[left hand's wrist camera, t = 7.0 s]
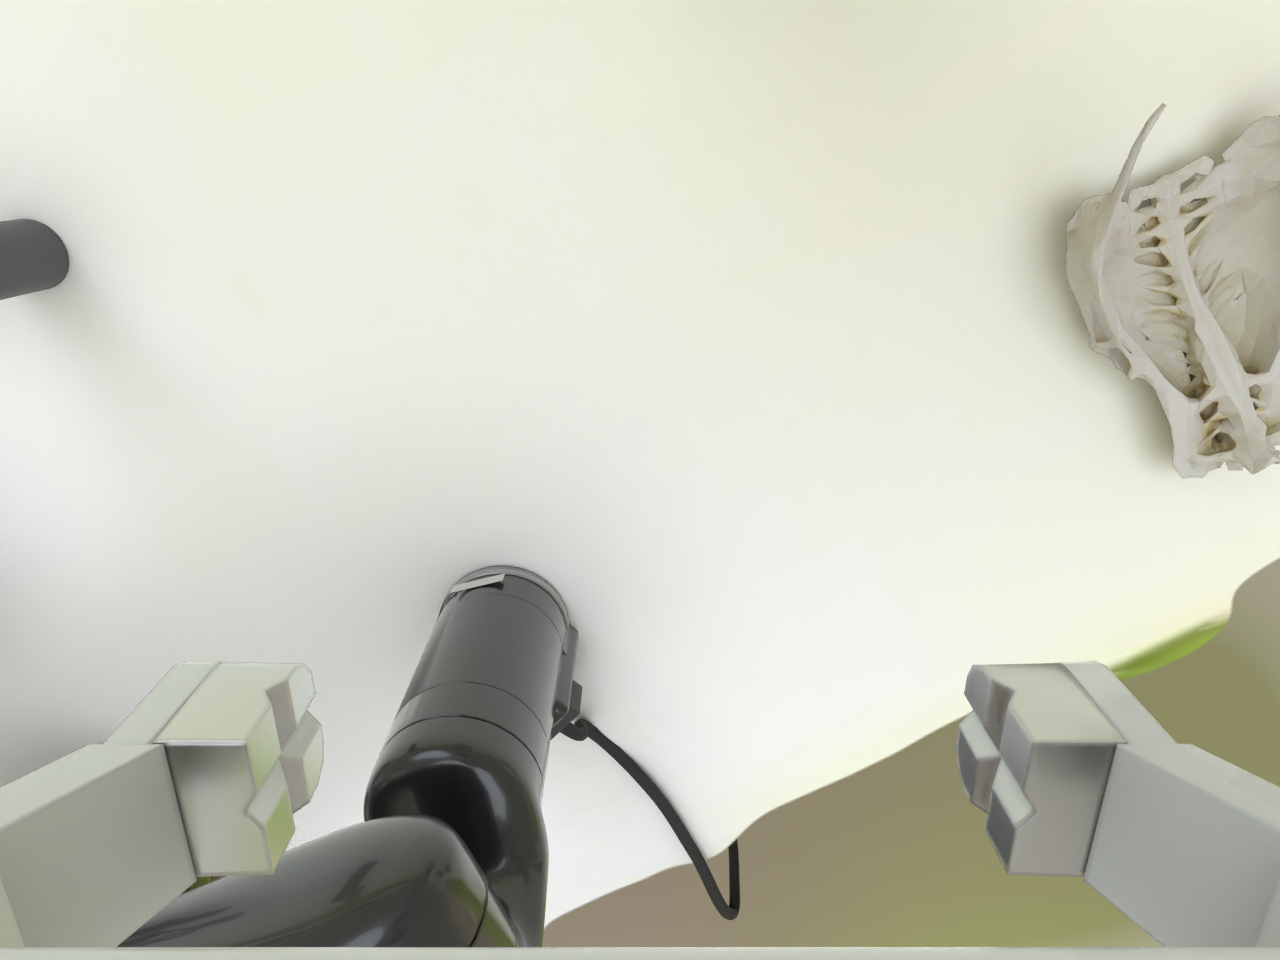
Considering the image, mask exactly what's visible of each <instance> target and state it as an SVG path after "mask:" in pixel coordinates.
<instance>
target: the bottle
mask: <svg viewBox="0 0 1280 960" xmlns="http://www.w3.org/2000/svg"><path fill="white" fill-rule="evenodd" d="M68 265H69V262H68V254H67V251H66V248H65V246H64V244H63V242H62V241H61V239H60V238H59V237H58V236H57V234H56V233H55V232H54V231H53V230H51V229H50V228H49V227H47V226H46V225H44V224H42V223H40V222H37V221H34V220H29V219H19V220H11V221H2V222H0V300H2V299H6V298H11V297H15V296H19V295H23V294H28V293H32V292H36V291H40V290H45V289H49V288H52V287H54V286H56V285H58V284H59V283H60V282H61V281H62V280H63V279H64V277H65V276H66V273H67V270H68Z"/></svg>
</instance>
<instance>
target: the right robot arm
mask: <svg viewBox="0 0 1280 960" xmlns="http://www.w3.org/2000/svg"><path fill="white" fill-rule="evenodd" d="M577 641H578V632H577V631H576V630H575V629H573V628H572V627H571V626H570V624H569V618H568V613H567V610H566V607H565V604H564V602H563V600H562V599H561V597H560V595H559V594H558V593H557V591H556V590H555V589H554V588H553V587H552V586H551V585H550V584H549V583H548V582H546V581H545V580H544V579H542V578H541V577H539V576H537V575H535V574H533V573H531V572H529V571H526V570H523V569H519V568H515V567H507V566H496V567H488V568H484V569H480V570H477V571H474V572H472V573H470V574H468V575H467V576H465V577H463V578H462V579H461V580H459V581H458V582H457V583H456V584H455V585H454V586H453V587H452V589H451V590H450V591H449V593H448V594H447V596H446V598H445V600H444V603H443V605H442V608H441V610H440V614H439V616H438V619H437V623H436V625H435V627H434V629H433V631H432V634H431V636H430V638H429V641H428V643H427V645H426V648H425V650H424V652H423V655H422V657H421V659H420V662H419V664H418V666H417V669H416V671H415V673H414V676H413V678H412V680H411V683H410V685H409V687H408V690H407V692H406V694H405V696H404V699H403V701H402V703H401V706H400V708H399V710H398V713H397V715H396V717H395V720H394V722H393V725H392V727H391V729H390V732H389V734H388V736H387V739H386V741H385V743H384V746H383V748H382V750H381V753H380V755H379V757H378V760H377V762H376V764H375V767H374V769H373V771H372V774H371V777H370V779H369V782H368V785H367V788H366V793H365V798H364V810H363V811H364V822H362V823H359V824H355V825H352V826H349V827H346V828H344V829H341V830H338V831H335V832H333V833H330V834H328V835H325V836H322V837H320V838H317V839H315V840H312V841H310V842H307V843H305V844H302V845H300V846H297V847H295V848H293V849H290V850H288V851H285V852H284V853H283V855H282V857H281V859H280V861H279V863H278V865H277V867H276V869H275V871H274V873H273V875H245V876H225V877H223V878H221V879H218V880H216V881H213V882H211V883H208V884H206V885H203V886H201V887H198V888H195V889H193V890H190V891H188V892H185V893H183V894H180V895H179V896H178V897H177V898H175V899H174V900H173V901H172V902H170V903H169V904H168V905H167V906H166V907H164V908H163V909H162V910H161V911H159V912H158V913H157V914H156V915H155V916H153V917H152V918H151V919H150V920H149V921H147V922H146V923H145V924H144V925H142V926H141V927H140V928H139V929H138V930H136V931H135V932H134V933H133V934H132V935H130V936H129V937H128V938H127V939H125V940H124V941H123V942H122V943H121V944H119V945H118V946H117V947H542V945H543V932H544V919H545V906H546V893H547V880H548V864H549V850H548V840H547V834H546V828H545V824H544V820H543V815H542V810H541V804H542V796H543V788H544V781H545V775H546V768H547V761H548V754H549V747H550V741H551V739H552V738H553V737H555V736H556V735H557V734H558V733H559V732H561V733H562V734H564V735H566V736H567V737H569V738H571V739H573V740H576V741H583V740H584V739H586V738H587V736H588V737H589V738H591V739H592V740H593V741H595V742H596V743H597V744H598V745H600V746H601V747H602V748H603V749H604V750H605V751H606V752H608V753H609V754H610V755H611V756H612V757H613V758H614V759H615V760H616V761H617V762H618V763H619V764H620V765H621V766H622V767H623V768H624V769H625V770H626V771H627V772H628V773H629V774H630V775H631V776H632V777H633V778H634V780H635V781H636V782H637V783H638V784H639V785H640V786H641V787H642V788H643V789H644V791H645V792H646V793H647V794H648V795H649V796H650V798H651V799H652V800H653V801H654V803H655V804H656V805H657V806H658V808H659V809H660V811H661V812H662V813H663V815H664V816H665V818H666V819H667V821H668V822H669V824H670V826H671V827H672V829H673V830H674V832H675V834H676V835H677V837H678V839H679V840H680V842H681V843H682V845H683V847H684V848H685V850H686V852H687V853H688V855H689V856H690V858H691V860H692V861H693V863H694V865H695V867H696V869H697V871H698V873H699V875H700V877H701V879H702V881H703V884H704V886H705V888H706V890H707V892H708V894H709V896H710V898H711V900H712V902H713V904H714V906H715V907H716V909H717V910H718V912H719V913H720V914H721V916H722V917H724V918H725V919H728V920H733V919H735V918H736V917H737V915H738V913H739V910H740V877H739V853H738V840H737V838H736V839H735V840H734V841H733V842H732V843H731V844H730V845H729V846H728V849H729V895H730V896H729V906H728V905H727V904H726V902H725V901H724V899H723V897H722V895H721V893H720V891H719V889H718V887H717V885H716V882H715V880H714V878H713V876H712V874H711V872H710V870H709V868H708V866H707V864H706V862H705V860H704V858H703V856H702V854H701V853H700V851H699V849H698V848H697V846H696V844H695V843H694V841H693V840H692V838H691V836H690V835H689V833H688V831H687V830H686V828H685V826H684V825H683V823H682V821H681V820H680V818H679V817H678V815H677V814H676V812H675V810H674V809H673V808H672V806H671V805H670V803H669V802H668V801H667V799H666V798H665V797H664V795H663V794H662V793H661V792H660V790H659V789H658V788H657V787H656V785H655V784H654V783H653V782H652V781H651V780H650V779H649V777H648V776H647V775H646V774H645V773H644V772H643V771H642V770H641V769H640V768H639V766H638V765H637V764H636V763H635V762H634V761H633V760H632V759H631V758H630V757H629V756H628V755H627V754H626V753H625V752H624V751H623V750H622V749H621V748H620V747H618V746H617V745H616V744H615V743H613V742H612V741H611V740H609V739H608V738H607V737H606V736H605V735H603V734H602V733H601V732H600V731H599V730H598V729H597V728H596V727H594V726H593V725H592V724H590V723H589V722H587V721H585V720H583V719H578V720H577V721H576V722H575V724H572V723H570V722H571V721H572V720H573V719H574V718H575V717H576V716H578V715H579V713H580V704H581V695H582V686H580V685H579V684H578V683H576V682H575V681H574V680H573V672H574V664H575V656H576V649H577Z"/></svg>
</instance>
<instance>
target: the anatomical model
mask: <svg viewBox="0 0 1280 960" xmlns="http://www.w3.org/2000/svg"><path fill="white" fill-rule="evenodd" d="M1165 107H1166V105H1165V104H1162V105H1161V106H1160V107H1159V108H1158V109H1157V110H1156V111H1155V112H1154V113H1153V114H1152V116H1151V117H1150V118H1149V119H1148V121H1147V122H1146V124H1145V125H1144V127H1143V129H1142V131H1141V132H1140V134H1139V136H1138V138H1137V139H1136V141H1135V143H1134V145H1133V146H1132V149H1131V151H1130V153H1129V156H1128V158H1127V160H1126V162H1125V164H1124V166H1123V169H1122V171H1121V174H1120V175H1119V179H1118V181H1117V184H1116V186H1115V188H1114V190H1113V192H1112V193H1111V194H1109V193H1108V194H1107V195H1106V196H1104V197H1103V196H1099V195H1096V196H1093V197H1091V198H1088V199H1085V200H1084V201H1083V203H1082V204H1081V205H1080V207H1079V208H1078V209H1077V211H1076V212H1075V213H1074V215H1073V217H1072V219H1071V220H1070V221H1069V222H1068V223H1067V245H1066V263H1065V272H1066V275H1067V279H1068V283H1069V286H1070V288H1071V290H1072V292H1073V294H1074V296H1075V298H1076V301H1077V303H1078V306H1079V308H1080V311H1081V313H1082V316H1083V318H1084V321H1085V323H1086V326H1087V328H1088V331H1089V333H1090V336H1091V337H1090V343H1089V347H1090V348H1091V349H1092V350H1094V351H1095V352H1097V353H1099V354H1102V355H1104V356H1107V357H1109V358H1110V359H1111V360H1112V362H1113V363H1114V365H1115V366H1116V367H1117V369H1119V370H1121V371H1122V372H1124V373H1125V374H1126V375H1127V377H1128V378H1129V379H1130V381H1131V380H1133V379H1136V378H1138V377H1139V378H1142V379H1145V380H1146V381H1147V382H1148V383H1149V384H1150V385H1151V386H1152V387H1153V388H1154V389H1155V391H1156V393H1157V396H1158V398H1159V400H1160V402H1161V405H1162V407H1163V409H1164V412H1165V414H1166V416H1167V419H1168V421H1169V423H1170V428H1171V434H1172V441H1173V447H1174V450H1173V465H1172V466H1173V467H1174V468H1175V470H1176V471H1177V472H1178V474H1179V475H1180V476H1181V477H1182V479H1183V478H1190V477H1199V478H1203V477H1204V476H1205V475H1206V474H1207V473H1208V472H1209V471H1211V470H1213V469H1216V468H1220V467H1221V465H1222V463H1223V462H1226V464H1227V467H1228V470H1242V469H1243V466H1244V467H1245V468H1246V469H1247V470H1248V471H1249V472H1250V473H1252V474H1255V473H1257V472H1260V471H1261V470H1263V469H1265V468H1266V467H1268V466H1269V465H1271V464H1273V463H1275V464H1280V457H1279V455H1280V451H1279V450H1277V451H1276V450H1275V448H1274V446H1275V445H1280V115H1279V116H1270V117H1263V118H1261V119H1259V120H1257V121H1256V122H1254V123H1252V124H1250V125H1249V127H1248V128H1247V129H1246V130H1245V131H1244V132H1243V133H1242V134H1241V135H1240V136H1239V137H1238V138H1237V139H1236V140H1235V141H1234V142H1233V144H1232V145H1231V146H1230V147H1229V148H1228V149H1227V150H1226V151H1225V152H1224V153H1223V154H1222V156H1223V158H1224V161H1225V162H1224V163H1221V164H1219V165H1216V166H1214V162H1215V161H1214V160H1213V159H1211V158H1209V157H1207V156H1206V155H1204V156H1202V157H1200V158H1198V159H1197V160H1195V161H1193V162H1191V163H1189V164H1187V165H1186V166H1184V167H1182V168H1180V169H1179V170H1177V171H1175V172H1174V173H1172V174H1165V175H1163V176H1162V177H1161V178H1155V181H1154V183H1153V184H1151V185H1148V186H1143V187H1137V188H1135V189H1133V190H1130V192H1129V198H1128V203H1127V202H1123V201H1121V199H1122V197H1123V194H1124V191H1125V189H1126V186H1127V183H1128V180H1129V177H1130V175H1131V172H1132V169H1133V167H1134V164H1135V162H1136V159H1137V156H1138V154H1139V151H1140V149H1141V146H1142V144H1143V142H1144V140H1145V139H1146V137H1147V135H1148V134H1149V132H1150V131H1151V129H1152V127H1153V126H1154V124H1155V123H1156V121H1157V119H1158V118H1159V116H1160V115H1161V113H1162V111H1163V110H1164V108H1165ZM1194 176H1195V178H1196V180H1195V181H1194V182H1193V183H1191V184H1190V185H1189V186H1187V187H1186V188H1185V189H1183V190H1181V184H1183V183H1184V182H1186V181H1187V180H1189V179H1190V178H1192V177H1194ZM1198 198H1200V200H1198V201H1195V202H1192V200H1193V199H1198ZM1147 199H1151V204H1152V205H1149V206H1146V207H1143V208H1141V209H1138V207H1139V206H1140V204H1141V203H1142V201H1143V200H1147ZM1191 202H1192V203H1191ZM1137 209H1138V210H1137ZM1194 218H1195V219H1194ZM1143 224H1144V225H1143ZM1141 225H1142V226H1141ZM1241 293H1242V294H1241ZM1240 294H1241V295H1240ZM1239 295H1240V296H1239ZM1238 296H1239V299H1237V300H1235V299H1236V298H1237V297H1238ZM1234 300H1235V301H1234ZM1146 336H1147V337H1148V339H1149V340H1146ZM1183 352H1185V353H1187V355H1186V358H1185V356H1184V354H1183ZM1187 364H1191V365H1190V366H1188V367H1187ZM1189 374H1192V375H1194V376H1196V377H1195V378H1194V379H1193V380H1192V381H1191V380H1190V375H1189Z"/></svg>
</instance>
